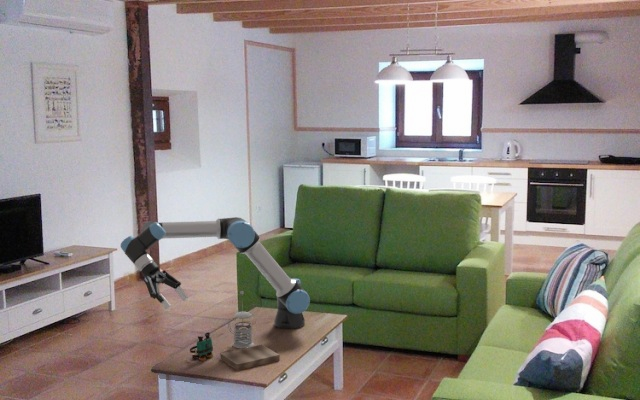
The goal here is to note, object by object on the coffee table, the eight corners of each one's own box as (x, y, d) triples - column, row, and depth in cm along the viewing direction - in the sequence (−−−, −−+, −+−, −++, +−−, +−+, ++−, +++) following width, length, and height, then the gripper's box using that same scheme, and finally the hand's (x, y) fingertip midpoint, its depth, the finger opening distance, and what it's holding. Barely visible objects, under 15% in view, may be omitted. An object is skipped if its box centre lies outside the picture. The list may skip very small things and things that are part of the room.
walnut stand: (261, 349, 305) (261, 344, 304) (279, 360, 291) (279, 354, 291) (220, 359, 294) (220, 353, 293) (237, 370, 280) (236, 364, 280)
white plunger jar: (250, 348, 306) (249, 294, 303) (225, 347, 309) (224, 293, 306) (256, 341, 316) (255, 288, 313) (232, 340, 318) (231, 287, 315)
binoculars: (197, 330, 302) (214, 332, 296) (200, 354, 303) (217, 355, 297) (183, 336, 294) (200, 337, 289) (186, 360, 295) (203, 362, 290)
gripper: (159, 266, 314) (188, 301, 310) (124, 278, 291) (155, 316, 287) (168, 255, 311) (197, 291, 308) (134, 266, 288) (165, 305, 285)
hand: (177, 303), depth 297 cm, fingers open, 13 cm apart
